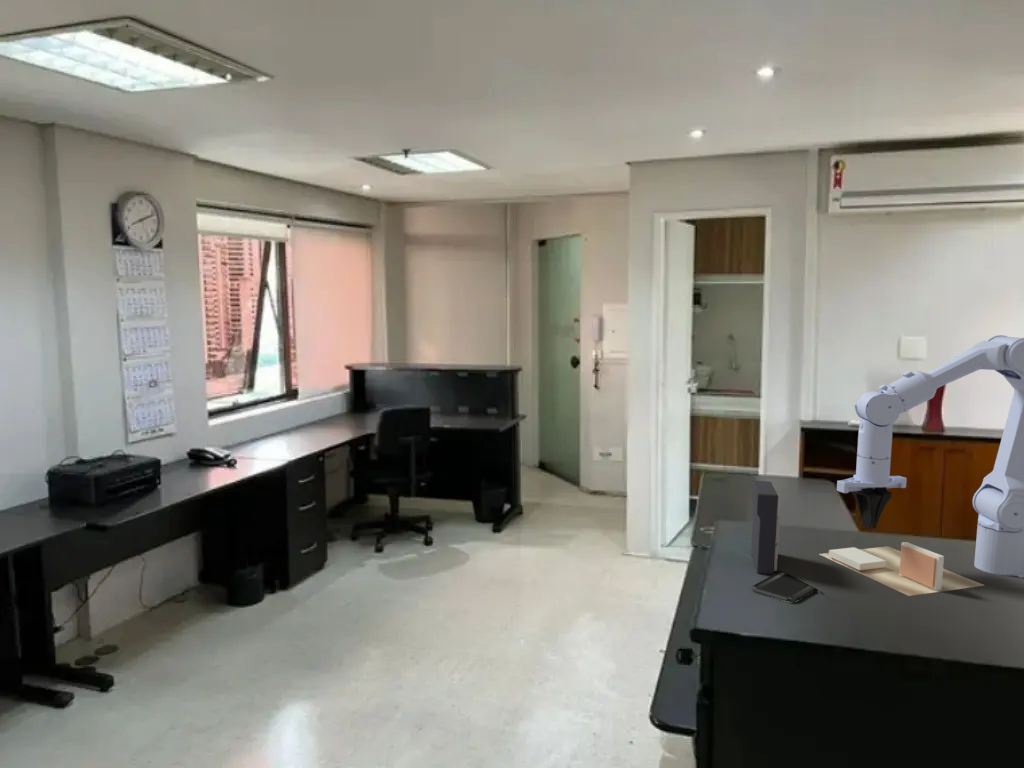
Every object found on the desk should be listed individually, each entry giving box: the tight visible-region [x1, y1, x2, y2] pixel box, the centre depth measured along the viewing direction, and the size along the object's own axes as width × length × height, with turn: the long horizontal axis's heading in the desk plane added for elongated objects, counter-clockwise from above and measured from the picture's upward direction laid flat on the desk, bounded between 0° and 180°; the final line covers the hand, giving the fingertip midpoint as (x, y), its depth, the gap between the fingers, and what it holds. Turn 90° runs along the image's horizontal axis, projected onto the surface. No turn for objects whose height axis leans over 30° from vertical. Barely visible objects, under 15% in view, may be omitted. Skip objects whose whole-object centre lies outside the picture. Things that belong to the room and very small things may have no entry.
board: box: [818, 545, 985, 597], centre depth 144 cm, size 17×22×1 cm
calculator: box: [750, 480, 781, 575], centre depth 146 cm, size 11×4×15 cm, turn 168°
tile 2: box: [899, 541, 945, 591], centre depth 136 cm, size 2×8×6 cm, turn 19°
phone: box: [752, 570, 819, 602], centre depth 136 cm, size 8×1×15 cm
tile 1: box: [828, 547, 886, 571], centre depth 146 cm, size 2×8×6 cm
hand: (869, 527), depth 146 cm, fingers closed
